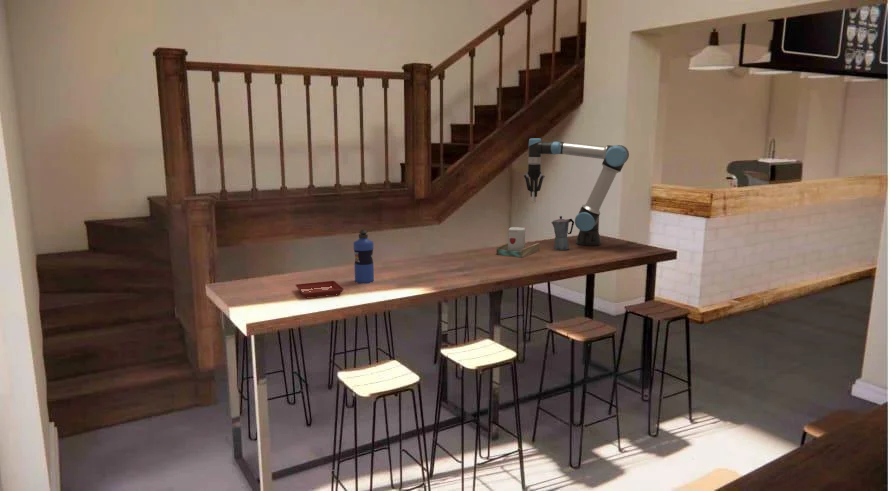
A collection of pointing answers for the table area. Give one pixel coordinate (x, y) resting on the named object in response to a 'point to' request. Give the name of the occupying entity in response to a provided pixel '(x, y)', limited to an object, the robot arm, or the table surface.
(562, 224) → the moka pot
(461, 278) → the table surface
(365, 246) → the water bottle
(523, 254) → the tray
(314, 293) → the plant saucer
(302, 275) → the table surface
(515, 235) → the supplement box
